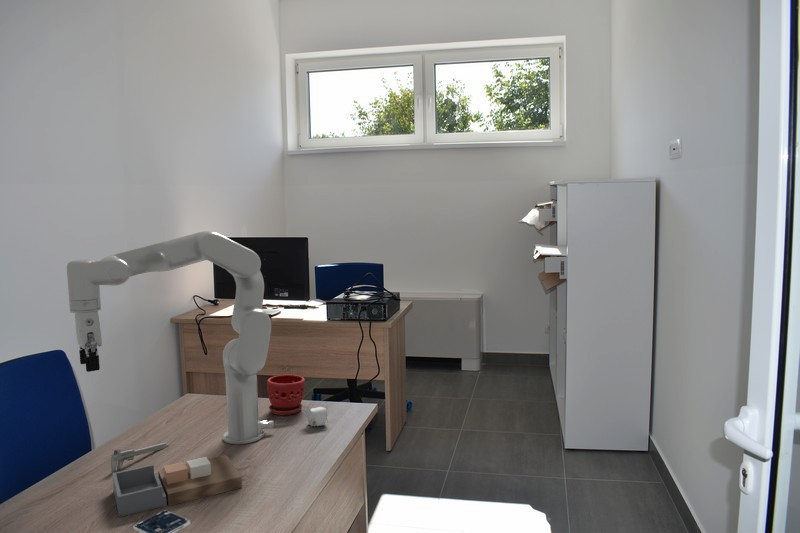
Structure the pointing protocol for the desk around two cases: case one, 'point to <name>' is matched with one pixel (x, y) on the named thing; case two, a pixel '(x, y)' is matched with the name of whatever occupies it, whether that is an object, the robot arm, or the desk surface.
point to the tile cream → (198, 467)
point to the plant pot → (285, 394)
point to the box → (138, 490)
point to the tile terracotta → (175, 473)
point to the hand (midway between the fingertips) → (89, 366)
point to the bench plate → (203, 482)
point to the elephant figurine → (316, 415)
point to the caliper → (131, 455)
